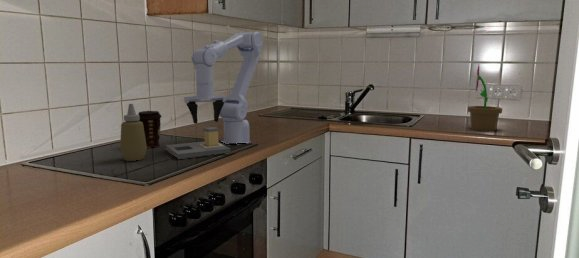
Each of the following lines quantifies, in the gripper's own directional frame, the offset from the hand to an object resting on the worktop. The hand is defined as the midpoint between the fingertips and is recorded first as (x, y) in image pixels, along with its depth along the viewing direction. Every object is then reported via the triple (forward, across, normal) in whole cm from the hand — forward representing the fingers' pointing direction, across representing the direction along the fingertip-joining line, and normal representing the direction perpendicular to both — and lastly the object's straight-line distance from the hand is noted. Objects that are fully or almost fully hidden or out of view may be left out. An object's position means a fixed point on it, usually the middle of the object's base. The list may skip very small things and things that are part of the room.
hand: (205, 122), depth 148 cm
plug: (+10, -1, +3) cm, 10 cm away
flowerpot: (+10, -125, +23) cm, 128 cm away
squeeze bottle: (+10, +25, +2) cm, 27 cm away
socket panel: (+10, +4, +3) cm, 11 cm away
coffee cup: (+10, +16, -16) cm, 24 cm away
